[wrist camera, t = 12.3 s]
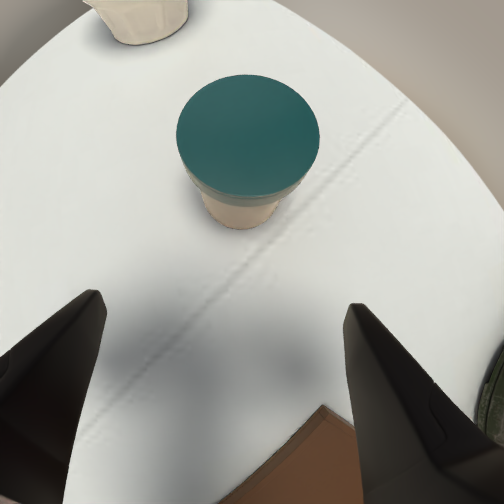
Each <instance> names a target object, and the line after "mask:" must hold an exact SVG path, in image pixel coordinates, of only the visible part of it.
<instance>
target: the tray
mask: <svg viewBox="0 0 504 504" xmlns="http://www.w3.org/2000/svg"><path fill="white" fill-rule="evenodd" d="M218 504H364V501H363V489H362V480H361V471H360V463H359V455H358V447H357V440H356V433H355V427H354V426H353V425H351V424H350V423H348V422H347V421H346V420H344V419H343V418H341V417H340V416H338V415H337V414H336V413H334V412H333V411H331V410H330V409H328V408H327V407H326V406H324V405H322V406H321V407H320V408H319V409H318V410H317V411H316V412H315V413H314V415H313V416H312V417H311V418H310V419H309V420H308V421H307V422H306V423H305V424H304V425H303V426H302V427H301V428H300V429H299V430H298V431H297V433H296V434H295V435H294V436H293V437H292V438H291V439H290V440H289V441H288V442H287V443H286V444H285V445H284V446H283V447H282V448H281V449H279V450H278V451H277V452H276V453H275V454H274V455H273V456H272V457H271V458H270V459H269V460H268V461H267V462H266V463H265V464H264V465H262V466H261V467H260V468H259V469H258V470H257V471H256V472H255V473H254V474H252V475H251V476H250V477H249V478H248V479H247V480H246V481H244V482H243V483H242V484H241V485H240V486H239V487H237V488H236V489H235V490H234V491H233V492H231V493H230V494H229V495H228V496H226V497H225V498H224V499H223V500H221V501H220V502H219V503H218Z"/></svg>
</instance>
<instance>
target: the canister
mask: <svg viewBox="0 0 504 504" xmlns="http://www.w3.org/2000/svg"><path fill="white" fill-rule="evenodd" d="M503 349H504V347H503ZM477 423H478V428H480V429H481V430H482V431H483V432H484V433H485V434H486V435H487V436H488V437H489V438H490V439H491V440H493V441H494V442H495V443H497V444H499V445H501V446H504V350H503V352H502V354H501V355H500V358H499V360H498V362H497V364H496V366H495V368H494V370H493V373H492V375H491V378H490V380H489V383H485V386H484V389H483V392H482V396H481V400H480V405H479V410H478V420H477Z"/></svg>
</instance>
